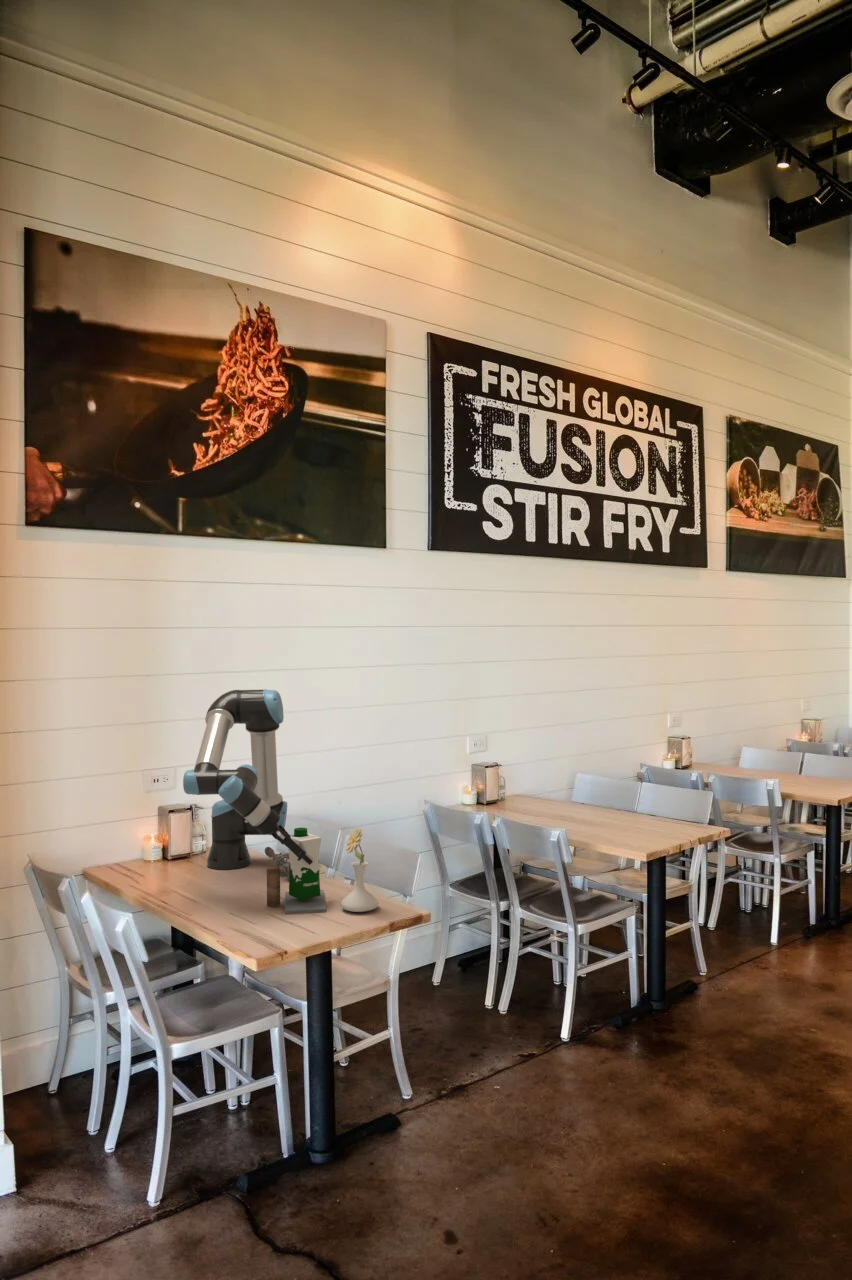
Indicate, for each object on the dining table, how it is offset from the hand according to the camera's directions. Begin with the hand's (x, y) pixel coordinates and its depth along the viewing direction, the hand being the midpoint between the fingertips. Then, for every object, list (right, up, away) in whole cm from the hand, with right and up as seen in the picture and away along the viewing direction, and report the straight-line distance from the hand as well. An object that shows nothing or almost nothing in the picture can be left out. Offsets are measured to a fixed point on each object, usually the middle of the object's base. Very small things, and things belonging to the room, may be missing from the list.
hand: (314, 865), depth 276 cm
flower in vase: (+14, -11, -8) cm, 20 cm away
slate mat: (-3, -11, -1) cm, 12 cm away
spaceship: (-14, -11, +31) cm, 36 cm away
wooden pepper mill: (-12, -11, -2) cm, 17 cm away
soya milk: (-3, -9, -1) cm, 10 cm away
